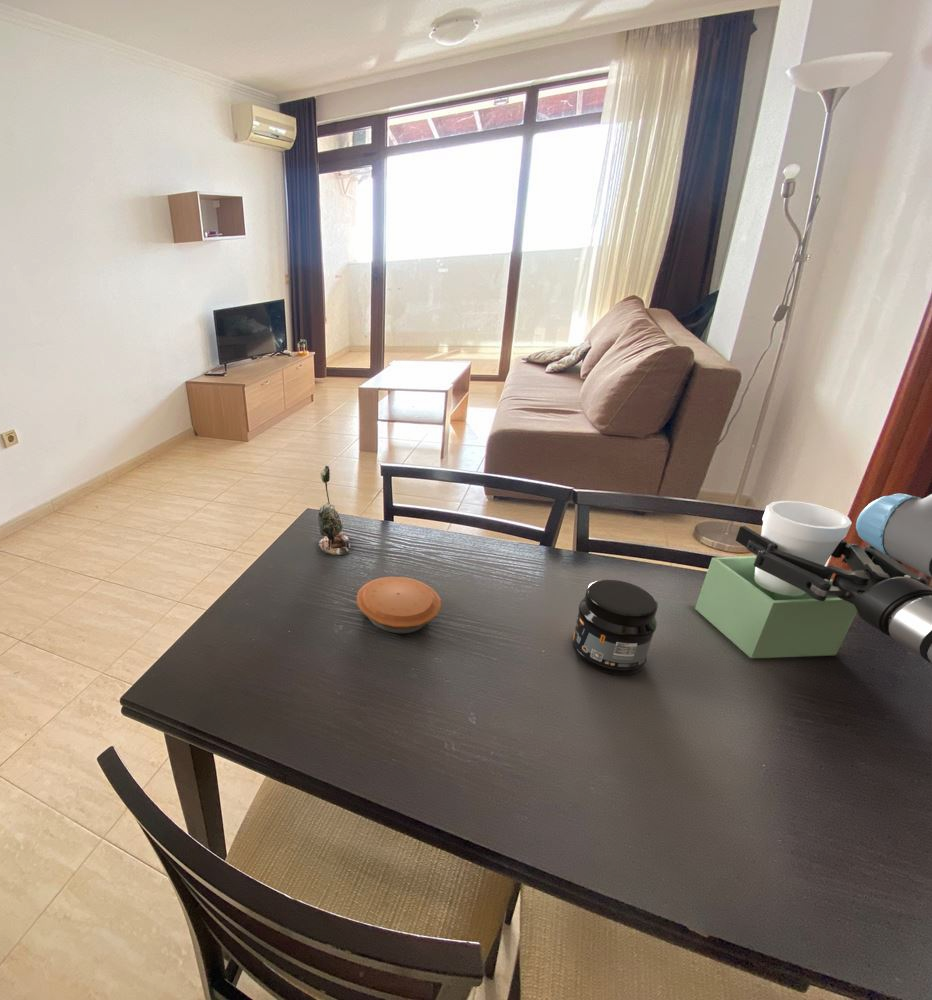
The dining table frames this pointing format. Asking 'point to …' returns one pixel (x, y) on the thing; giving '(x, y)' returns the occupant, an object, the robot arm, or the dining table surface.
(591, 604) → the supplement container
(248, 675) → the dining table surface
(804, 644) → the open green box
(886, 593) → the robot arm
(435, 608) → the pie
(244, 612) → the dining table surface
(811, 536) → the foam cup
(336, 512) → the plant with pod
